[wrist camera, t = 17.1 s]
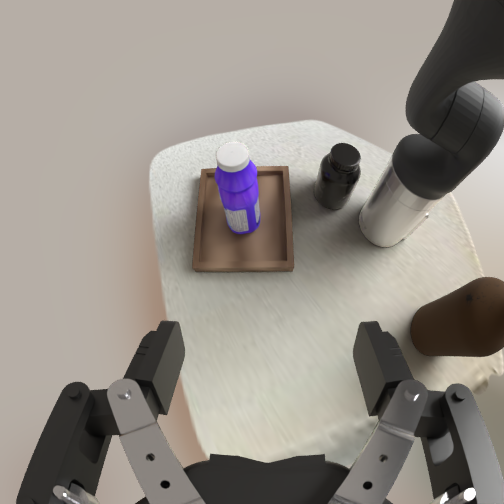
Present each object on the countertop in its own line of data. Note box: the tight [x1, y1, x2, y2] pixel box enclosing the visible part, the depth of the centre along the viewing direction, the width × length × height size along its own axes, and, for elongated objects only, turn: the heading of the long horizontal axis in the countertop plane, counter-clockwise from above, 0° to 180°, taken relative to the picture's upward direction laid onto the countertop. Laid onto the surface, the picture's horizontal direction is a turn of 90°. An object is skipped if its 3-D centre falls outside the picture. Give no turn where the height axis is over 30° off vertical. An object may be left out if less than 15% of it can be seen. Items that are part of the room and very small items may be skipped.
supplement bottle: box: [314, 143, 361, 209], centre depth 46 cm, size 7×7×12 cm
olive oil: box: [411, 277, 504, 357], centre depth 30 cm, size 11×11×25 cm
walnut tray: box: [192, 166, 294, 272], centre depth 49 cm, size 16×19×2 cm
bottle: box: [215, 141, 260, 234], centre depth 41 cm, size 7×6×17 cm
